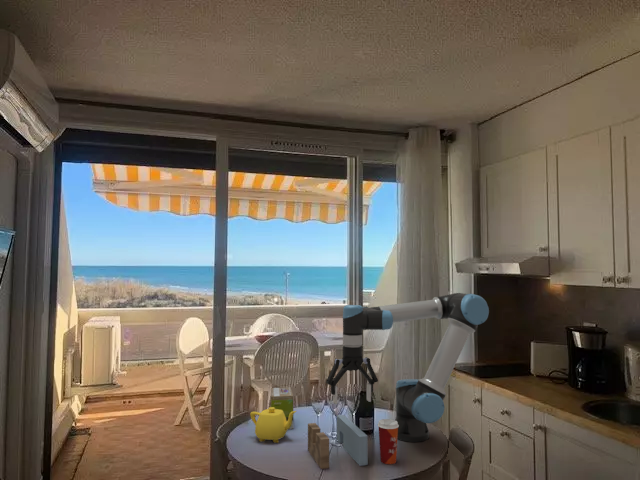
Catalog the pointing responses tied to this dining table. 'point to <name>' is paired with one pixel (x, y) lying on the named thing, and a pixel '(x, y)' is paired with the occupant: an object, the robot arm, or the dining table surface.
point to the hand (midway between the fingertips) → (352, 402)
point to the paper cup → (388, 440)
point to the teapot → (271, 424)
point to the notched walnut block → (318, 445)
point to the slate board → (352, 440)
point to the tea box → (283, 401)
